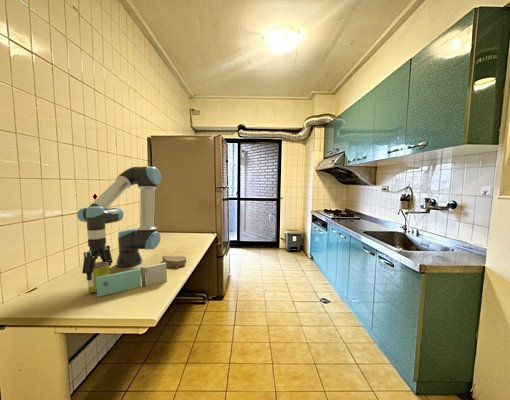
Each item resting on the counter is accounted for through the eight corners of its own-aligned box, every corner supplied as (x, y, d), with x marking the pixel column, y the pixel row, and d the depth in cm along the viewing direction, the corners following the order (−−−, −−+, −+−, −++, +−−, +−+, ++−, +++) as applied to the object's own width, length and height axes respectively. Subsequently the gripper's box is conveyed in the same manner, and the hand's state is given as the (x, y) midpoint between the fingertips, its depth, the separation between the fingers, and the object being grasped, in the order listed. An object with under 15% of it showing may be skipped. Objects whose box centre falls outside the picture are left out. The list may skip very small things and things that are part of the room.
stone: (186, 267, 155) (186, 261, 155) (161, 270, 150) (161, 263, 150) (185, 259, 171) (185, 253, 171) (162, 261, 166) (162, 255, 166)
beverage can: (112, 283, 127) (111, 260, 126) (105, 290, 118) (104, 266, 117) (93, 284, 125) (92, 262, 124) (85, 292, 116) (83, 268, 116)
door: (97, 295, 116) (96, 277, 115) (140, 285, 127) (139, 268, 126) (97, 298, 113) (96, 279, 112) (141, 287, 124) (141, 270, 123)
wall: (123, 289, 124) (122, 269, 123) (165, 279, 136) (164, 261, 135) (124, 291, 121) (124, 271, 120) (166, 281, 133) (166, 263, 132)
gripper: (106, 232, 131) (108, 273, 133) (70, 242, 110) (73, 291, 111) (119, 233, 130) (121, 274, 132) (84, 243, 109) (87, 292, 110)
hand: (99, 281), depth 121 cm, fingers closed on beverage can, 9 cm apart
